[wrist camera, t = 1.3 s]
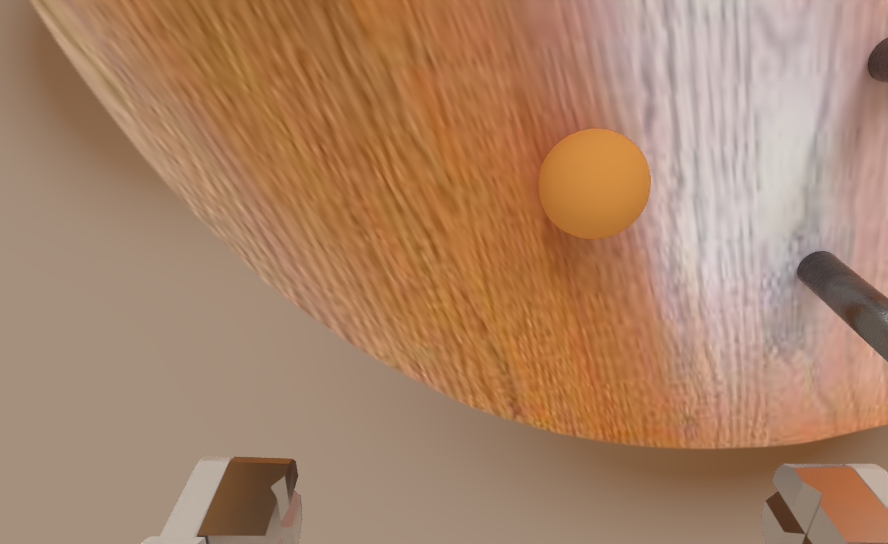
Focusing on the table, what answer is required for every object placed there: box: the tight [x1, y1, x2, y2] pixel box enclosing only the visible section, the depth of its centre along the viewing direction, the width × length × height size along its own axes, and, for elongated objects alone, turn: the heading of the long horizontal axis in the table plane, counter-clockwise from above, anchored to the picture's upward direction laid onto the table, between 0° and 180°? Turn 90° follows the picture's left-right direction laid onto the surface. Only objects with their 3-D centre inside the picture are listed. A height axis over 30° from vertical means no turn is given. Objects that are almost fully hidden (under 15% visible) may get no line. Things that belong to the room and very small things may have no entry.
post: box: [798, 251, 888, 362], centre depth 35 cm, size 2×2×9 cm
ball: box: [538, 128, 651, 239], centre depth 33 cm, size 6×6×6 cm
